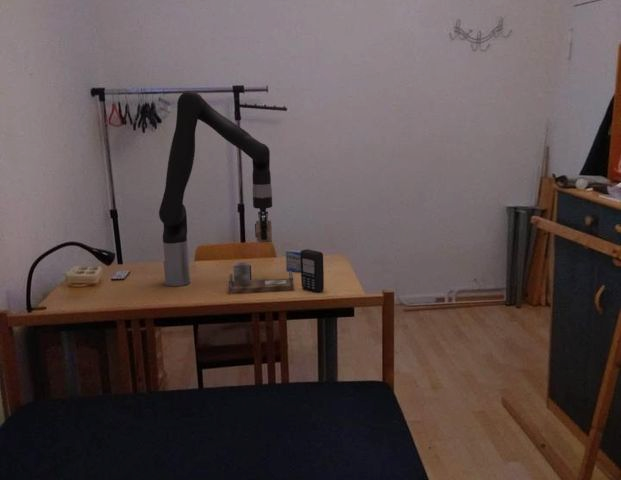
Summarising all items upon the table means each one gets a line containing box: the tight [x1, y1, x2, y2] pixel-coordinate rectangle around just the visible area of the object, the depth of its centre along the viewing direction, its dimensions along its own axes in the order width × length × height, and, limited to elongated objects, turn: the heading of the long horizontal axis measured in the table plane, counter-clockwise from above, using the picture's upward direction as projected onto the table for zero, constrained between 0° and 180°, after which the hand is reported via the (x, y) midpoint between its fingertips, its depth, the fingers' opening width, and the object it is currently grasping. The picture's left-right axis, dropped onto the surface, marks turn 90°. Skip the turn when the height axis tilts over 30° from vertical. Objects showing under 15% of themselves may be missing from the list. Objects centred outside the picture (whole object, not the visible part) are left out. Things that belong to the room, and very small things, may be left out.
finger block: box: [254, 220, 273, 244], centre depth 233 cm, size 6×4×8 cm, turn 95°
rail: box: [227, 262, 295, 295], centre depth 224 cm, size 24×10×10 cm, turn 95°
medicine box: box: [285, 249, 302, 273], centre depth 248 cm, size 8×4×9 cm, turn 62°
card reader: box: [300, 248, 325, 293], centre depth 219 cm, size 9×4×15 cm, turn 44°
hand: (264, 238), depth 234 cm, fingers closed on finger block, 4 cm apart
